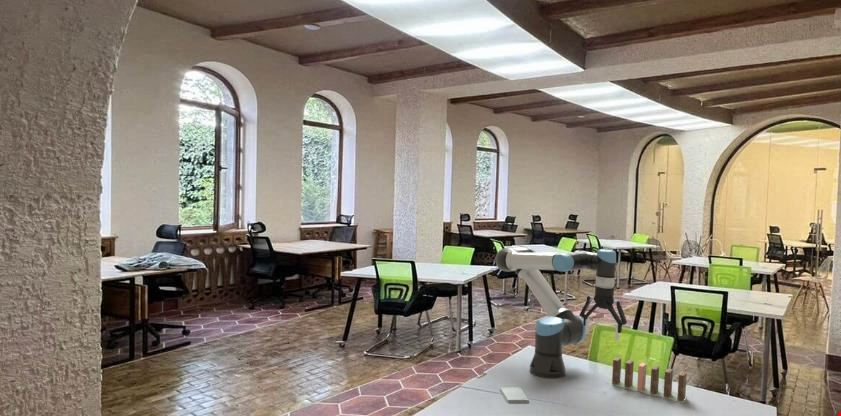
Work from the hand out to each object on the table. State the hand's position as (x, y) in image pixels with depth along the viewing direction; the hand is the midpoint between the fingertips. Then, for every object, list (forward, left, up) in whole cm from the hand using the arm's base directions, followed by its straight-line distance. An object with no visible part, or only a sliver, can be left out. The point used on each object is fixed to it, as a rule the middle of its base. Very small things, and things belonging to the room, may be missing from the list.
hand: (601, 336), depth 225 cm
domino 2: (+12, 0, -18) cm, 21 cm away
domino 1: (+7, 0, -18) cm, 19 cm away
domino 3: (+17, 0, -18) cm, 25 cm away
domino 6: (+32, 0, -18) cm, 37 cm away
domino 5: (+27, 0, -18) cm, 32 cm away
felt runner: (+19, 0, -18) cm, 26 cm away
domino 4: (+22, 0, -18) cm, 28 cm away
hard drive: (-19, -42, -19) cm, 49 cm away
